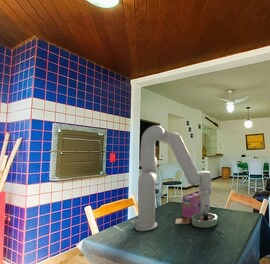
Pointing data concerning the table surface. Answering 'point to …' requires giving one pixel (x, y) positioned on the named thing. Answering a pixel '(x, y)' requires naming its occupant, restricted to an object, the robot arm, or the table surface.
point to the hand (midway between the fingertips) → (205, 222)
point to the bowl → (204, 224)
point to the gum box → (191, 204)
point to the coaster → (183, 221)
